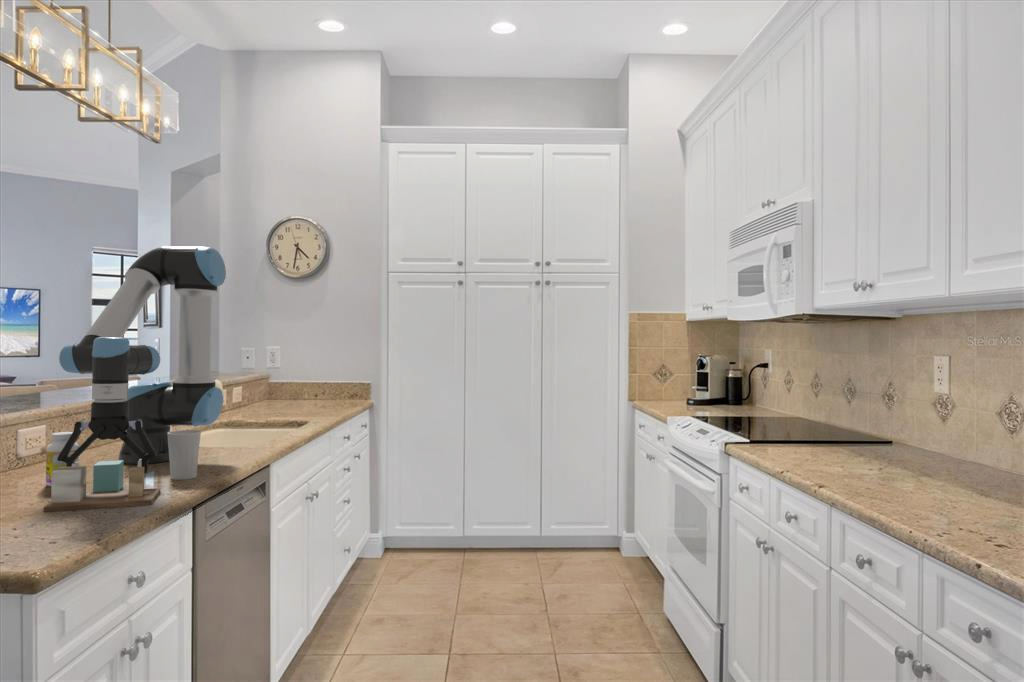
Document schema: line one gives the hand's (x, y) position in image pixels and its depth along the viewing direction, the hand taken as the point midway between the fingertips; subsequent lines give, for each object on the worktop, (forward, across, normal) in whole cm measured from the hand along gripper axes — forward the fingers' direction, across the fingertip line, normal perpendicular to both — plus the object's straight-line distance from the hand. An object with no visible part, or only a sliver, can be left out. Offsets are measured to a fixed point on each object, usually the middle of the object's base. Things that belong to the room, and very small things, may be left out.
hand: (107, 488), depth 152 cm
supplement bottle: (+1, -12, +10) cm, 16 cm away
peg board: (0, +2, -12) cm, 12 cm away
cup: (0, +15, +11) cm, 19 cm away
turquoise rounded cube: (0, 0, 0) cm, 0 cm away
